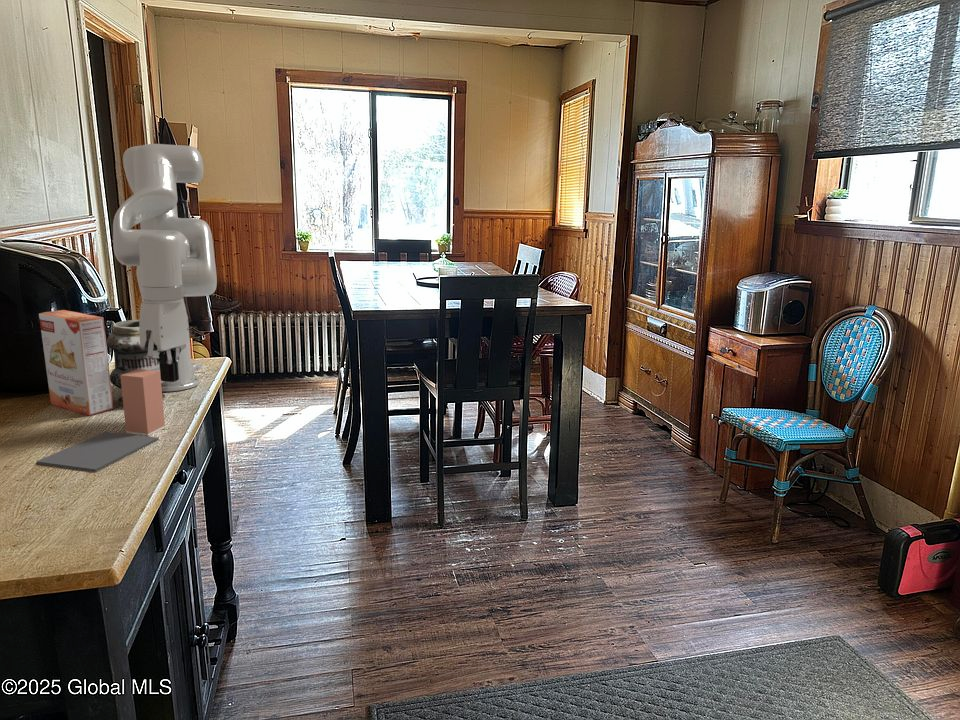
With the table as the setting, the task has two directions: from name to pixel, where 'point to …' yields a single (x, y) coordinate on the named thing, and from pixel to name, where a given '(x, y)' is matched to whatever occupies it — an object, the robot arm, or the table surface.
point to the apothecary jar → (128, 352)
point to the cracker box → (76, 361)
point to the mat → (97, 451)
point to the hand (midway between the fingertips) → (170, 380)
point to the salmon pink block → (142, 401)
